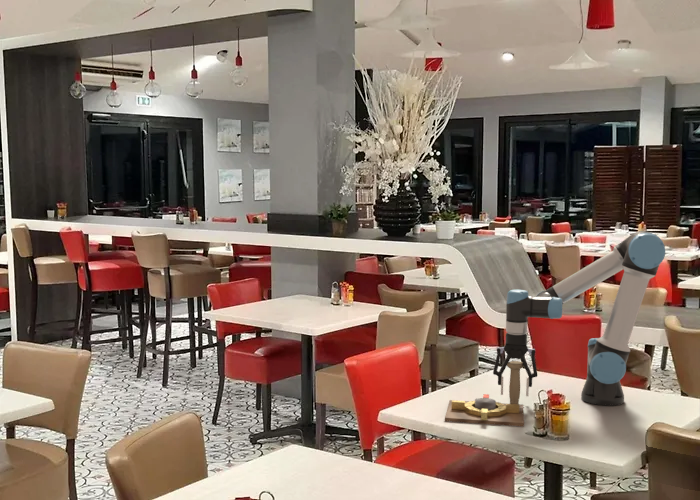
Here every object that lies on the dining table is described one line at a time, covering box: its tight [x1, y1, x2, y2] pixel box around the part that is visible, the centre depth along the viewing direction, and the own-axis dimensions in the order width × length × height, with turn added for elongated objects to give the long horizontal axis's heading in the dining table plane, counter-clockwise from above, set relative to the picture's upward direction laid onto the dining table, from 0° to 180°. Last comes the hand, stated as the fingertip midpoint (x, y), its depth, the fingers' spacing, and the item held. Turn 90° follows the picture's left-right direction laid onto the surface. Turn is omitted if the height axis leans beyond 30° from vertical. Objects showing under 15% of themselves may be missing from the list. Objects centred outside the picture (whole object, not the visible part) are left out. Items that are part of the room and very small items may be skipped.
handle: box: [506, 360, 524, 404], centre depth 294 cm, size 5×6×15 cm
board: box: [444, 397, 525, 428], centre depth 280 cm, size 26×22×5 cm
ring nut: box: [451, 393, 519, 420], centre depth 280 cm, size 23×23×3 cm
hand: (514, 394), depth 294 cm, fingers open, 8 cm apart
